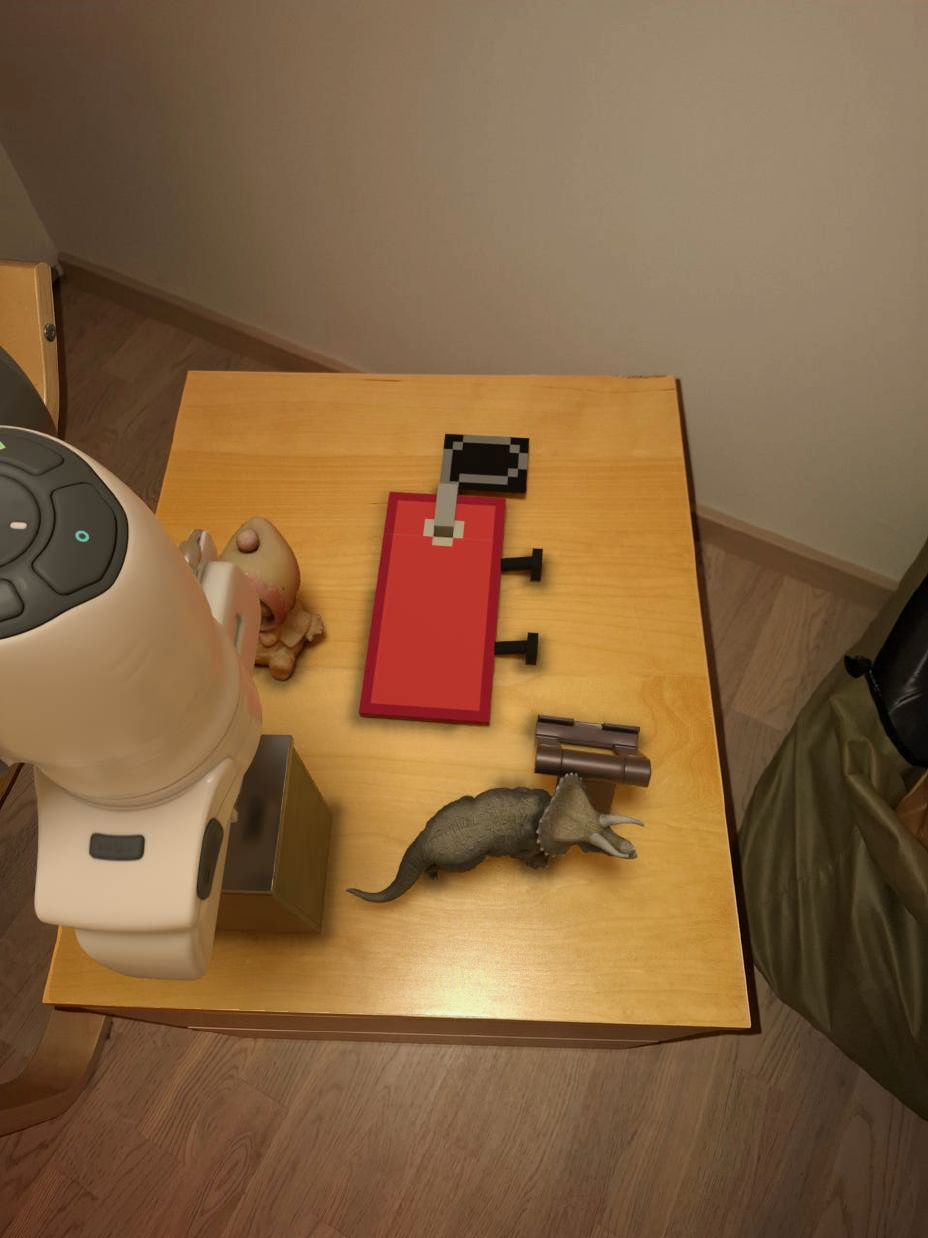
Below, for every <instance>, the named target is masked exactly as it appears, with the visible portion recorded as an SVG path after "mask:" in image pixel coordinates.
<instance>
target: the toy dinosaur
mask: <svg viewBox="0 0 928 1238" xmlns="http://www.w3.org/2000/svg"><path fill="white" fill-rule="evenodd" d="M554 791H555V792H554ZM554 791H553V794H552V795H551V793H550V792H549V791H548V790H546V789H544V788H528V787H527V786H516V787H514V788H510V787H494V788H489V789H487V790H484V791H481V792H480V793H478V794H477V795H476V796H475V797H474V796H472V795H469V794H468V795H466V794H465V795H463V796H461V797H460V798H458V799H455V800H453V801H449V802H448V803H447V804H445V805H443V806H442V807H441V808H439V809H438V810H437V811H436V813H435V814H434V815H432V816H431V817H430V819H428V820H427V821H426V823H425V826H424V829H422V830H421V831H420V832H419V833H418V834H417V836H416V838H415V839H414V840H413V841H412V842H411V843H410V844H409V845H408V847H406V849H405V851H404V854H403V855H402V858H401V861H400V863H399V865H398V869H397V873H396V875H395V878H394V879H393V881H392V882H391V883H390V885H389V886H387V887H386V888H384V889H383V890H381V891H377V892H370V891H365V890H362V889H359V888H354V887H348V888H347V889H345V892H347V893H348V894H351V895H353V896H355V897H357V898H359V899H361V900H363V901H366V902H368V903H373V904H374V903H375V904H384V903H385V904H386V903H391V902H392V901H395V900H397V899H399V898H400V897H402V896H403V895H404V894H406V893H407V892H408V891H410V890H411V888H413V886H414V885H415V884H416V883H417V882H418V881H419V879H420V877H421V876H422V874H423V873H426V874H427V876H428V877H429V879H431V880H432V881H435V882H437V881H438V879H439V878H438V877H439V876H438V872H440V871H444V872H447V873H450V874H451V873H452V874H453V873H455V874H456V873H457V874H463V873H468V872H471V871H474V870H475V869H476V868H477V867H478V866H479V865H481V864H483V863H484V862H485V860H486V859H487V856H488V857H490V858H503V857H509V858H511V859H513V860H517V861H519V862H521V863H526V866H527V867H529V868H532V869H533V870H534V871H537V870H538V869H539V868H543V869H549V868H550V866H551V864H550V862H549V860H550V859H553V858H555V857H556V856H561V857H564V858H565V856H566V853H567V852H568V851H569V850H570V849H571V848H573V847H574V846H577V847H579V850H580V852H582V853H584V854H588V853H593V854H602V855H606V856H607V857H615V858H619V859H623V860H635V859H636V858H638V853H637V851H636V847H635V846H634V845H633V843H632V842H631V841H630V840H628V839H627V838H624V837H623V836H621V835H619V834H618V833H616V832H615V831H614V830H613V829H612V827H611V826H617V825H624V824H631V825H637V826H640V827H643V828H645V827H646V825H645V823H644V822H643V821H641V820H639V819H637V818H634V817H632V816H627V815H623V814H616V813H614V814H613V813H612V814H610V813H609V814H606V815H604V814H601V813H598V812H597V811H596V810H595V809H594V808H593V807H592V805H591V803H590V801H591V799H592V798H591V797H590V796H589V795H588V794H587V792H586V785H584V784H583V782H582V778H581V777H580V778H578V775H577V773H576V774H575V775H573V773H570V774H569V775H568V774H566V775H565V776H564V777H563V778H561V779H560V781H559V784H558V786H557V787H556V790H555V789H554Z"/></svg>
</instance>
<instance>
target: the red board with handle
mask: <svg viewBox="0 0 928 1238" xmlns="http://www.w3.org/2000/svg"><path fill="white" fill-rule="evenodd" d="M529 449H530V437H516V436H497V435H481V434H480V435H478V434H460V433H445V434H444V442H443V449H442V459H441V467H440V477H439V483H438V484H437V493H419V492H404V491H402V492H401V491H389V493H388V498H387V507H386V514H385V521H384V528H383V535H382V543H381V549H380V556H379V562H378V563H379V564H378V571H377V579H376V585H375V592H374V599H373V608H372V614H371V622H370V629H369V634H368V635H369V636H368V642H367V650H366V658H365V664H364V672H363V677H362V678H363V679H362V687H361V694H360V701H359V707H358V715H359V717H367V718H379V719H380V718H381V719H393V720H407V721H408V720H409V721H419V722H420V721H421V722H422V721H423V722H434V723H450V724H461V725H462V724H463V725H475V726H476V725H478V726H479V725H480V726H490V720H491V708H492V694H493V679H494V667H495V666H494V665H495V656H515V655H516V656H517V655H525V665H531V666H536V665H537V660H538V653H539V652H538V651H539V636H540V635H539V632H530V631H529V632H527V638H526V639H522V640H521V639H520V640H519V639H518V640H497V641H496V639H497V627H498V615H499V614H498V612H499V601H500V600H499V599H500V586H501V573H504V572H505V573H508V572H521V571H522V572H524V571H525V572H526V571H530V579H529V580H530V582H541V580H542V573H543V572H542V570H543V556H544V548H537V547H536V548H535V547H533V548H532V552H531V555H529V556H514V557H503V547H504V533H505V522H506V521H505V520H506V506H507V497H491V496H475V495H474V496H471V495H459V491H469V492H470V491H471V492H487V493H488V492H489V493H504V494H506V493H508V494H520V495H521V494H523V495H525V494H527V483H528V466H529V452H530V451H529Z"/></svg>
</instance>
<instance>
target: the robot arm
mask: <svg viewBox="0 0 928 1238" xmlns="http://www.w3.org/2000/svg"><path fill="white" fill-rule="evenodd" d="M219 556H220V555H219V552H218V548H217V546H216V544H215V541H214V540H213V537H212V535H211V534H210V532H208V531H207V530H203V529H201V528H196V529H194V530H191V531H190V532H189V535H188V539H187V540H183V541H181V542H180V544H179V546H178V545H177V542H176V541H175V540H174V538H173V537H172V536H171V534H170V532H169V531H168V530H167V529H166V527H165V526H164V524H163V523H162V522H161V520H160V519H159V518H158V517H157V516H156V514H155V513H154V512H153V511H152V510H151V509H150V507H149V506H148V505H147V504H146V503H145V502H144V501H143V500H142V498H140V497H139V496H138V495H137V494H136V493H135V492H134V491H133V490H132V489H131V488H130V487H129V486H128V485H127V484H126V483H124V482H123V481H122V480H121V479H120V478H118V477H117V475H115V474H114V473H113V472H112V471H110V470H109V469H107V468H106V467H105V466H104V465H102V464H101V463H99V462H98V461H97V460H95V459H94V458H93V457H91V456H89V455H88V454H86V453H84V452H83V451H82V450H80V449H78V448H77V447H75V446H73V445H71V444H70V443H67V442H66V441H64V440H62V439H59V437H58V431H57V427H56V424H55V422H54V418H53V416H52V415H51V412H50V411H49V410H48V407H47V405H46V403H45V401H44V400H43V398H42V396H41V394H40V392H39V391H38V390H37V388H36V386H35V385H34V383H33V382H32V380H31V379H30V378H29V376H28V375H27V374H26V372H25V370H24V369H23V368H22V367H21V366H20V365H19V363H18V362H17V361H16V360H15V359H14V358H13V357H12V355H10V353H8V352H7V351H6V349H4V348H3V346H2V345H0V779H1V778H3V777H4V776H5V775H7V774H8V773H10V772H11V769H10V768H11V766H12V765H14V764H17V763H23V764H30V765H31V764H32V765H33V779H34V786H35V787H34V788H35V795H36V801H37V802H36V804H37V805H36V806H37V824H38V825H37V828H38V831H37V832H38V833H37V834H38V835H37V855H36V856H37V858H36V874H35V887H34V899H33V900H34V903H33V904H34V912H35V915H36V917H37V918H38V920H39V921H40V922H42V923H44V924H47V925H52V926H58V927H65V928H70V929H73V931H74V935H75V938H76V940H77V944H78V945H79V946H80V948H81V950H82V951H83V952H84V953H85V954H86V955H87V956H88V957H90V958H91V959H92V960H94V961H95V962H97V963H98V964H99V965H101V966H103V967H104V968H106V969H108V970H110V971H112V972H114V973H118V974H120V975H123V976H124V977H129V978H135V979H145V980H161V981H198V980H201V979H203V978H204V977H205V976H206V974H207V971H208V969H209V966H210V963H211V960H212V955H213V950H214V948H213V947H214V939H215V934H216V933H215V932H216V930H215V927H216V920H217V914H218V907H219V900H220V893H221V887H222V880H223V873H224V866H225V860H226V853H227V846H228V839H229V832H230V826H231V823H234V822H237V819H238V813H239V805H240V797H241V790H242V784H243V777H244V774H245V772H246V771H247V769H248V767H249V766H250V764H251V762H252V760H253V758H254V755H255V753H256V750H257V747H258V744H259V741H260V736H261V734H262V730H263V708H262V702H261V697H260V694H259V691H258V688H257V686H256V683H255V682H254V679H253V676H254V670H255V664H256V663H255V657H256V650H257V643H258V636H259V630H260V624H261V607H260V599H259V596H258V594H257V592H256V590H255V588H254V587H253V585H252V583H251V582H250V580H249V579H248V577H247V576H246V574H245V573H244V572H243V570H242V569H241V568H240V567H239V566H238V565H236V564H235V563H232V562H221V561H219Z"/></svg>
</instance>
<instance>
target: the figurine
mask: <svg viewBox="0 0 928 1238" xmlns="http://www.w3.org/2000/svg"><path fill="white" fill-rule="evenodd" d="M297 559H298V558H297V557H296V554H295V553H294V550H293V549H292V547H291V545H290V544H289V543H288V541H287V539H285V536H284V535H282V533H281V532H280V531H279V529H278V528H277V527H276V526H275V525H274V524H273V523H272V522H271V521H270V520H269V519H267V518H265V517H263V516H257V515H256V516H252V517H250V518H249V519H248V520H246V521H244V523H243V524H241V525H240V527H239V528H238V529H237V530H236V531H235V532H234V533H233V534H232V536H231V538H230V539H229V540H228V542H227V544H226V545H225V547H224V548H223V551H222V552H221V553H220V555H219V561H221V562H232V563H235V564H236V565H238V566H239V567H240V568H241V569H242V570H243V572H244V573H245V574H246V576H247V577H248V579H249V580H250V582H251V583H252V585H253V587H254V588H255V590H256V592H257V594H258V596H259V599H260V607H261V624H260V630H259V636H258V643H257V650H256V657H255V664H257V665H263V666H268V671H269V673H270V675H271V676H272V677H273V678H274V679H275V680H276V681H280V682H284V681H286V680H287V679H289V677H291V675H292V673H293V671H294V668H295V666H296V664H297V658H298V656H299V655H300V654H301V652H302V650H303V646H304V643H305V642H306V641H309V642H312V641H314V638H315V637H316V636H321V635H322V634H323V632H324V629H325V627H324V622H323V620H321V619H322V616H321V615H319V614H315V613H314V614H312V613H309V612H308V611H305V609H304V607H303V605H302V604H301V602H300V600H299V599H298V598H297V594H298V592H299V590H300V587H301V583H302V581H301V570H300V565H299V562H298V560H297Z"/></svg>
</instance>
